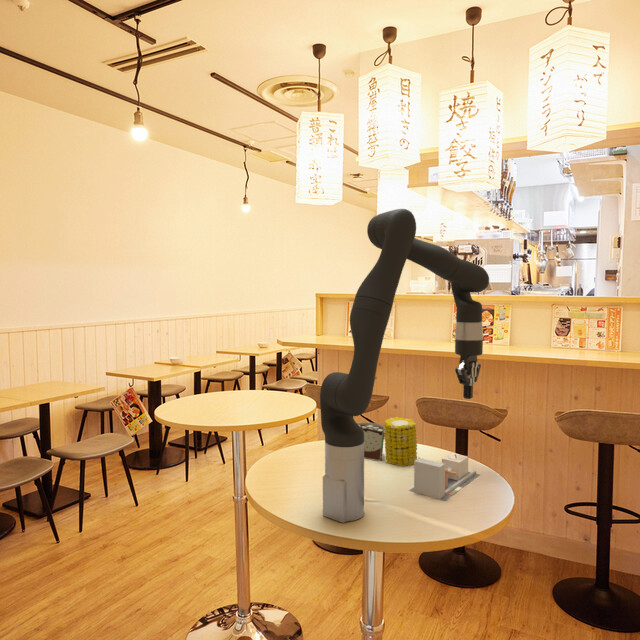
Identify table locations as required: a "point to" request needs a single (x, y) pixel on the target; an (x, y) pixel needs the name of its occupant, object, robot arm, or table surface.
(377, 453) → the chocolate cake half
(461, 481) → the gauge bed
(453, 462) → the gauge housing
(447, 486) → the brown slider plate
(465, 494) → the table surface
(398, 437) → the food
